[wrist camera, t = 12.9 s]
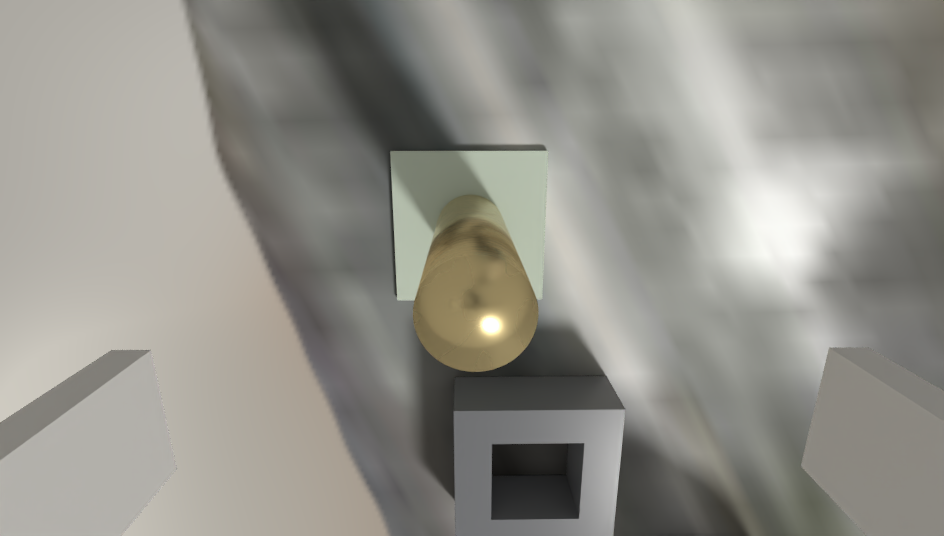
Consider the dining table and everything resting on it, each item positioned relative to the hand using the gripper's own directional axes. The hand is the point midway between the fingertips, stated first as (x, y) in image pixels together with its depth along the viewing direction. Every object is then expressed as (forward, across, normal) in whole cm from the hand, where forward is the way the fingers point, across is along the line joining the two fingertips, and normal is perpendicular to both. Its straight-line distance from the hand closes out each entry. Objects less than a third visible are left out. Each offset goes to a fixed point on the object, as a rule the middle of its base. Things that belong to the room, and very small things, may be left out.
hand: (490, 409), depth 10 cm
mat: (+20, 0, -1) cm, 20 cm away
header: (+20, +4, -16) cm, 26 cm away
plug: (+20, 0, -1) cm, 20 cm away
